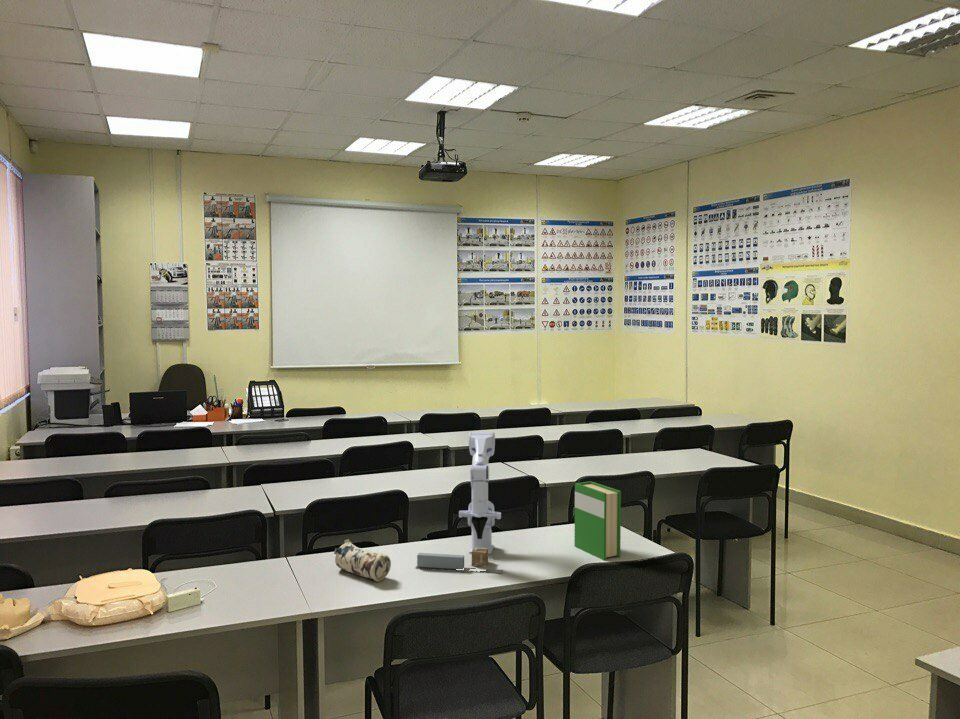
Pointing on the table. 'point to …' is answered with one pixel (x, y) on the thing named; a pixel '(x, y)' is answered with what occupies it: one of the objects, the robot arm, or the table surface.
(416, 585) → the table surface
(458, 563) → the slate screen
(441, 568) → the metal track
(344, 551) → the pencil case
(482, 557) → the walnut letter block
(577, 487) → the hardback book
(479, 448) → the robot arm
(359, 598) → the table surface
